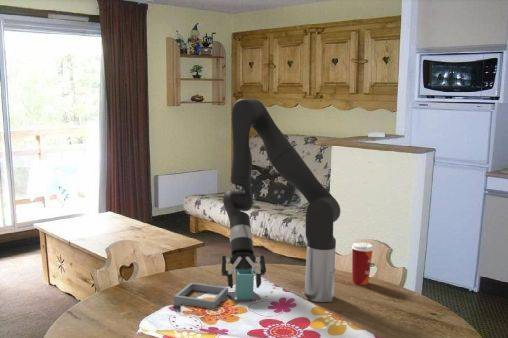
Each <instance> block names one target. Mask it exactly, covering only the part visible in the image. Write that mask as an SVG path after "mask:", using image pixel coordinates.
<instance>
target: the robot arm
mask: <svg viewBox="0 0 508 338" xmlns="http://www.w3.org/2000/svg"><path fill="white" fill-rule="evenodd" d="M251 128H253V130H254V131H255V132H256V133H257V135H258V136H259V137H260V138H261V140H262V142H263V145H264V148H265V152H266V155H267V158H268V161H269V162H270V164H271V165H272V167H274V169H275V171H276V172H277V174H278V175H279V176H281V178H282V179H284V181H286V182H287V183H288V184H289V185H291V186H292V187H293V188H295V189H296V190H297V191H299V192H300V194H301V195H302V196H303V197H304V198H305V200H306V201H307V202H308V205H307V207H306V210H305V238H306V256H305V257H306V258H305V277H304V278H305V279H304V296H305V297H306V299H308V300H309V301H312V302H315V303H326V302H327V303H332V302H333V298H334V296H335V295H334V294H335V279H336V278H335V277H336V267H335V264H336V263H335V262H336V247H337V246H336V245H337V240H336V238H335V237H334V223H335V222H336V221H338V220H339V218H340V216H341V207H340V204H339V202H338V201H337V199H336V198H335V197H334V196H333V195H332V194H331V193H330V192H329V190H327V189H326V188H325V186H323V184H322V183H321V182H320V181H319V180H318V178H317V177H316V176H315V174H314V173H313V172H312V170H311V168H310V167H309V166H308V165H307V164H306V162H305V161H304V159H303V157H301V155H300V153H299V152H298V151H297V150H296V148H295V147H294V146H293V144H292V143H290V141H289V139H288V138H287V137H286V135H284V133H283V132H282V131H281V130H280V128H279V127H278V126H277V124H276V123H275V121H274V119H273V118H272V116H271V114H270V113H269V111H268V109H267V108H266V106H265V105H264V103H262V101H260V100H259V99H256V98H240V99H238V100H236V101H235V102H234V103H233V105H232V108H231V130H232V132H231V133H232V161H231V162H232V163H231V171H230V182H231V183H232V185H235V186H239V187H241V188H243V190H228V191H226V192H224V195H223V197H222V204H223V207H224V210H225V212H226V214H227V217H228V221H229V245H230V246H229V247H230V248H229V249H230V257H227V256H226V255H222V257H221V276H222V277H227V286H228V287H229V289H233V287H234V280H233V278H234V277H233V275H234V274H235V273H236V270H252V272H253V274H254V277H255V285H256V288H257V289H259V288H260V286H261V285H262V276H265V275H266V272H267V267H266V262H265V256H264V255H260V256H255V253H254V239H253V233H252V229H251V227H252V226H251V218H250V215H249V214H248V213H246V212H249V211H250V210H251V209H252V208H253V206H254V198H253V193H252V183H251V180H252V171H253V170H252V169H253V155H252V151H251V148H250V131H251ZM229 262H230V264H231V267H230V269H229V270H227V265H228V263H229ZM255 262H257V264H258V265H259V267H260V268H258V266H257V264H255Z"/></svg>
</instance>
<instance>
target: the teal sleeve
mask: <svg viewBox="0 0 508 338" xmlns="http://www.w3.org/2000/svg"><path fill="white" fill-rule="evenodd" d="M254 281H255V274H254V273H253V272H252V270H237V269H236V271H235V286H234V287H235V288H234V289H235V290H234V292H235V295H236V298H237V300H245V299H253V292H254V286H255V285H254V283H255V282H254Z"/></svg>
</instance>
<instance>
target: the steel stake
mask: <svg viewBox="0 0 508 338" xmlns="http://www.w3.org/2000/svg"><path fill="white" fill-rule="evenodd" d="M227 297H228V299H229V300H231V301H232V302H237V303H242V304H243V303H245V304H246V303H247V304H249V303H254V302H257V301H258V300H260V298H261V297H260V294H258V293H256V292H254V291H253V299H245V300H237V298H236V295H235V291H233V292H231V293H228V294H227Z"/></svg>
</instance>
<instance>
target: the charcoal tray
mask: <svg viewBox="0 0 508 338" xmlns="http://www.w3.org/2000/svg"><path fill="white" fill-rule="evenodd" d="M192 291H197V292H204V293H211V294H217V295H216V296H215V297H214V298H213V299H205V298H198V297H191V296H187V295H189V293H191V292H192ZM228 295H229V287H225V286H218V285H212V284H203V283H198V282H197V283H196V282H189V283H188V284H187V285H186V286H184V287H183V288H182V289H181V290H180V291H179V292H177V293H176V294H175V295H173V308H176V309H182V305H187V306H193V307H201V308H206V309H212V310H213V309H215V308H216V307H217V306H218V305H219V304H220V303H221V302H222V301H223V300H224V299H225V298H226V297H228Z"/></svg>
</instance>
